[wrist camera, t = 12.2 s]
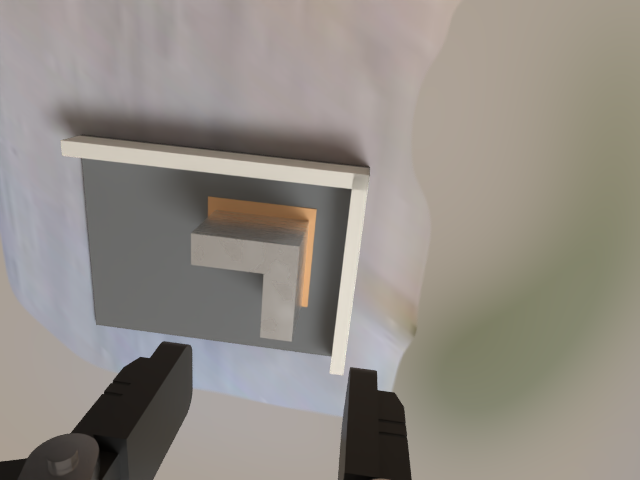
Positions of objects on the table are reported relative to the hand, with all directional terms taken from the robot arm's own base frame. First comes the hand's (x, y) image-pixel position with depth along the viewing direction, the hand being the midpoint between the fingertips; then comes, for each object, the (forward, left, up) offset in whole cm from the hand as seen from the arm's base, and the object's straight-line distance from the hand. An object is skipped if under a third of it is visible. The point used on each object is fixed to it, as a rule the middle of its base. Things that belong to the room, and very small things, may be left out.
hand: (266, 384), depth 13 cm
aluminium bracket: (0, -10, -27) cm, 29 cm away
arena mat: (-3, -12, -27) cm, 30 cm away
